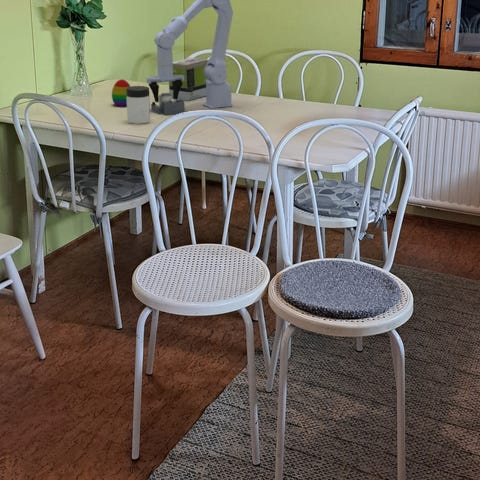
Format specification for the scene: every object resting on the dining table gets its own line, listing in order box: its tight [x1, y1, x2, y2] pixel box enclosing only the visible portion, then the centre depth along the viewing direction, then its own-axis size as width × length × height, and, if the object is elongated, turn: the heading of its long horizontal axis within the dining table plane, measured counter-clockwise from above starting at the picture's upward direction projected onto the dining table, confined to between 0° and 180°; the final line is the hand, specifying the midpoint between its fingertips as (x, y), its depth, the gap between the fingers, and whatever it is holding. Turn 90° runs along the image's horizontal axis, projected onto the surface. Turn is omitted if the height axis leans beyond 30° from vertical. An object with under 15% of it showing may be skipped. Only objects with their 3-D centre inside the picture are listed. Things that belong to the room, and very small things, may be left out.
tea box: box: [168, 57, 209, 102], centre depth 326 cm, size 15×10×15 cm
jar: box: [126, 85, 151, 125], centre depth 286 cm, size 9×8×12 cm
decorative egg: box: [111, 79, 131, 107], centre depth 311 cm, size 8×8×10 cm
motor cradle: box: [150, 99, 186, 116], centre depth 302 cm, size 10×11×5 cm
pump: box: [158, 92, 173, 107], centre depth 305 cm, size 5×5×6 cm
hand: (166, 100), depth 304 cm, fingers open, 7 cm apart
